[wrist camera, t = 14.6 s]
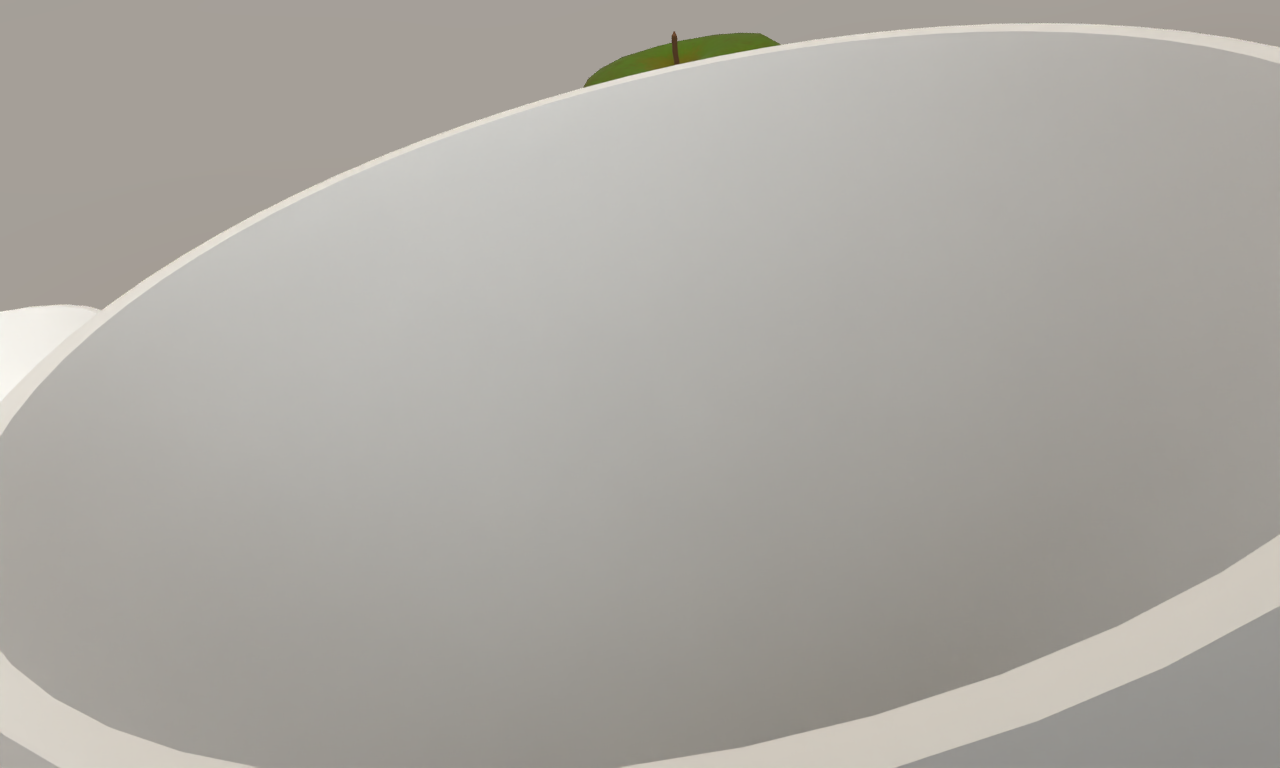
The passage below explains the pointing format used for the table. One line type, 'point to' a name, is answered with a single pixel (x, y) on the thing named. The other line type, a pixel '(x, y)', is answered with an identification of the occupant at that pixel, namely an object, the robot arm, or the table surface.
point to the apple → (680, 54)
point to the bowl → (34, 337)
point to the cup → (694, 434)
